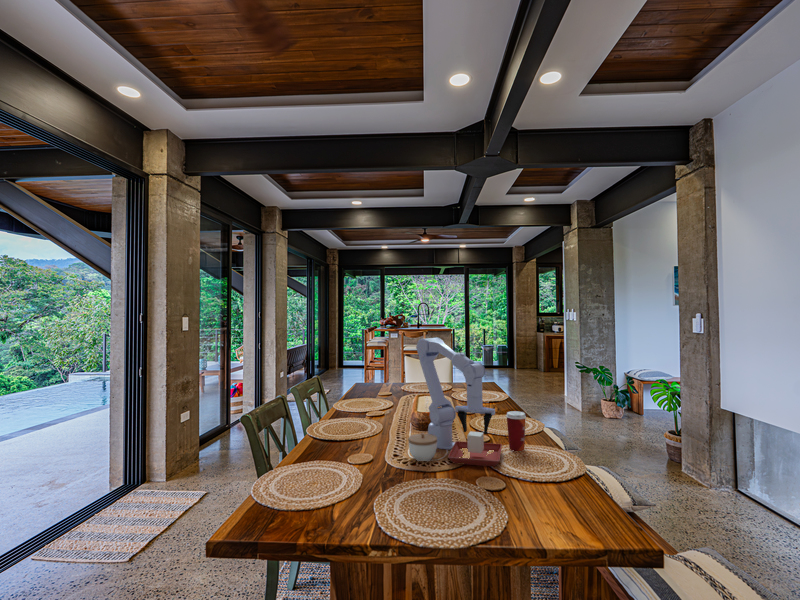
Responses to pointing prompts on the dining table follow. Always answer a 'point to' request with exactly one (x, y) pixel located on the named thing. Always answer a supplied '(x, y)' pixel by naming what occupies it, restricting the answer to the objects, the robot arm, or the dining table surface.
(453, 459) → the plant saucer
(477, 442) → the block
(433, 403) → the robot arm
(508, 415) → the paper cup
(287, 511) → the dining table surface
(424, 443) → the lidded jar
